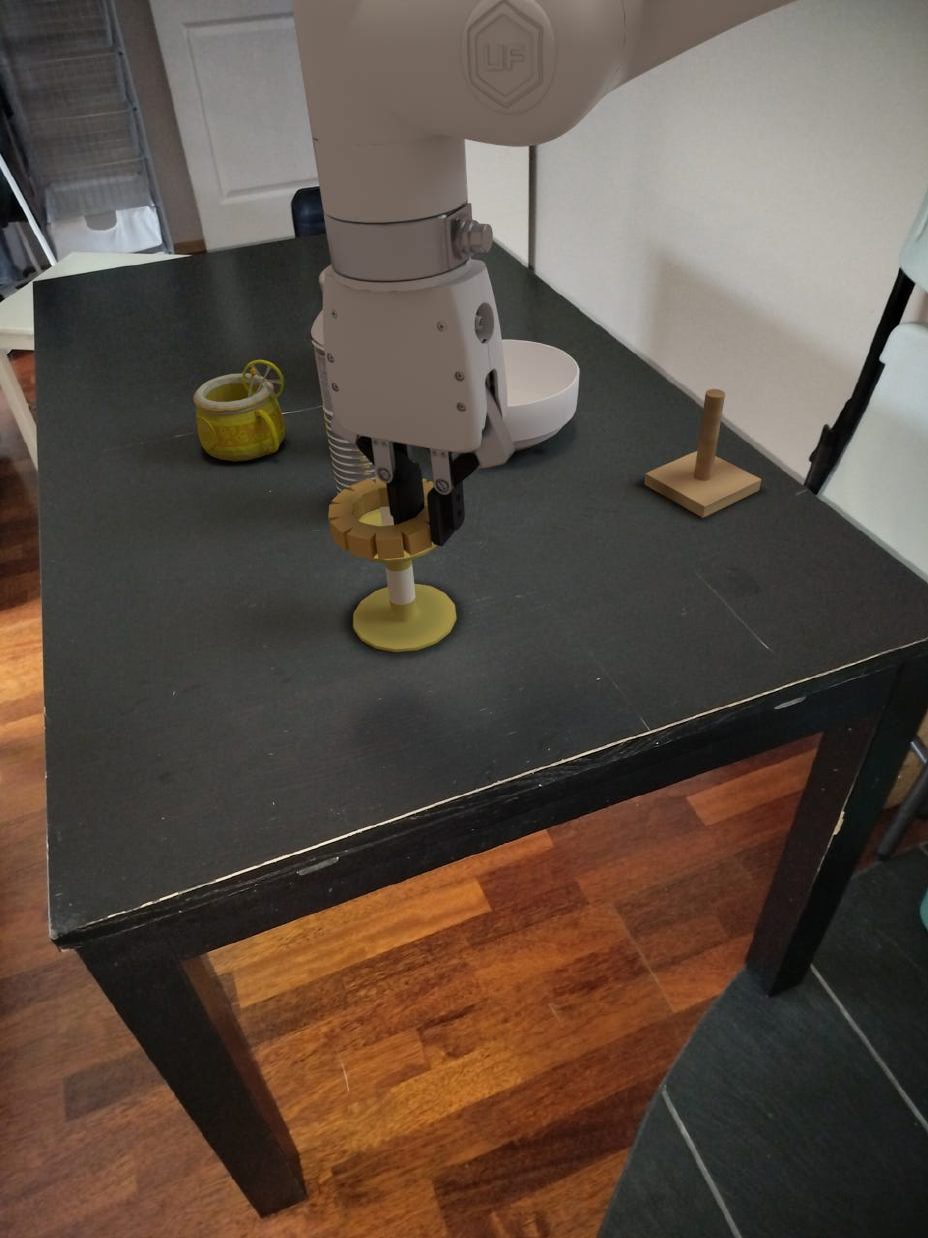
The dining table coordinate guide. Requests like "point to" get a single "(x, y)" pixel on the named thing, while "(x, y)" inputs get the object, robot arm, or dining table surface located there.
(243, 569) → the dining table surface
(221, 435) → the mug
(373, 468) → the water bottle
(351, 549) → the ring
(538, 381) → the bowl
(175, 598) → the dining table surface
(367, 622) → the candle
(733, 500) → the peg stand
